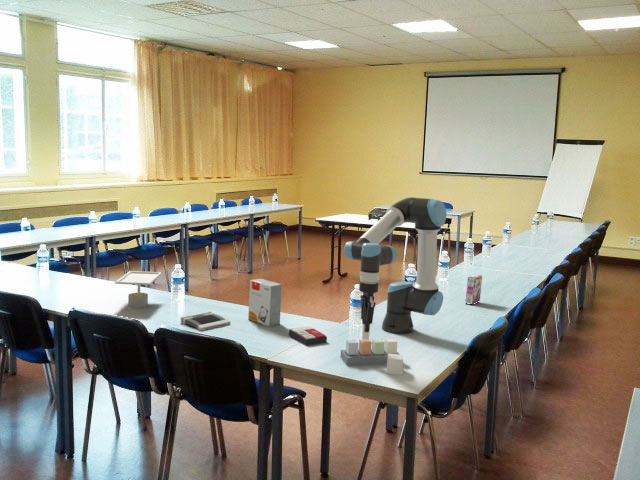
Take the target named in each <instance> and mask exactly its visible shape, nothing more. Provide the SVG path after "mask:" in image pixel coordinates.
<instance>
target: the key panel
mask: <svg viewBox="0 0 640 480" xmlns="http://www.w3.org/2000/svg"><path fill="white" fill-rule="evenodd" d="M397 354H398V355H401V354H400V353H399V351H397ZM340 358H341V360H342V361H343V363H344V364H345V365H346V366H368V365H369V366H370V365H372V366H375V365H377V366H378V365H387V359H388V354H387V353H386V352H385V351H384V354H374V353H373V352H372V348H371V354H370V355H361V354H360V353H359V349H358V355H348V354H347V353H346V349H340Z"/></svg>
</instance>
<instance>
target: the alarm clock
mask: <svg viewBox="0 0 640 480" xmlns="http://www.w3.org/2000/svg"><path fill="white" fill-rule="evenodd" d="M180 324H182V325H189V326H192V327H194V328H196V329H197V330H198V331H201V332H202V331H208V330H212V329H217V328H220V327H225V326H228V325H231V320H229V319H227V318H224V317H223V316H221V315H218V314H216V313H214V312H212V311H206V312H205V311H204V312H200V313H195V314H191V315H185V316H180Z"/></svg>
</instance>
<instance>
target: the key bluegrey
mask: <svg viewBox="0 0 640 480" xmlns="http://www.w3.org/2000/svg"><path fill="white" fill-rule="evenodd" d="M345 350H346V353H347V354H348V355H358V350H359V341H358V340H356V339H346V340H345Z"/></svg>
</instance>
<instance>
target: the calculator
mask: <svg viewBox="0 0 640 480" xmlns="http://www.w3.org/2000/svg"><path fill="white" fill-rule="evenodd" d="M288 337H289V338H290V339H294V340H295V341H297V342H298V343H300V344H303V345H304V346H314V345H318V344H319V345H320V344H323V343H327V341H328V337H327V336H326V334H324V333H323V332H320V331H319V330H317V329H315V328H313V327H311V326H310V325H307V326H301V327H300V326H299V327H294V328H289V331H288Z"/></svg>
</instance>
